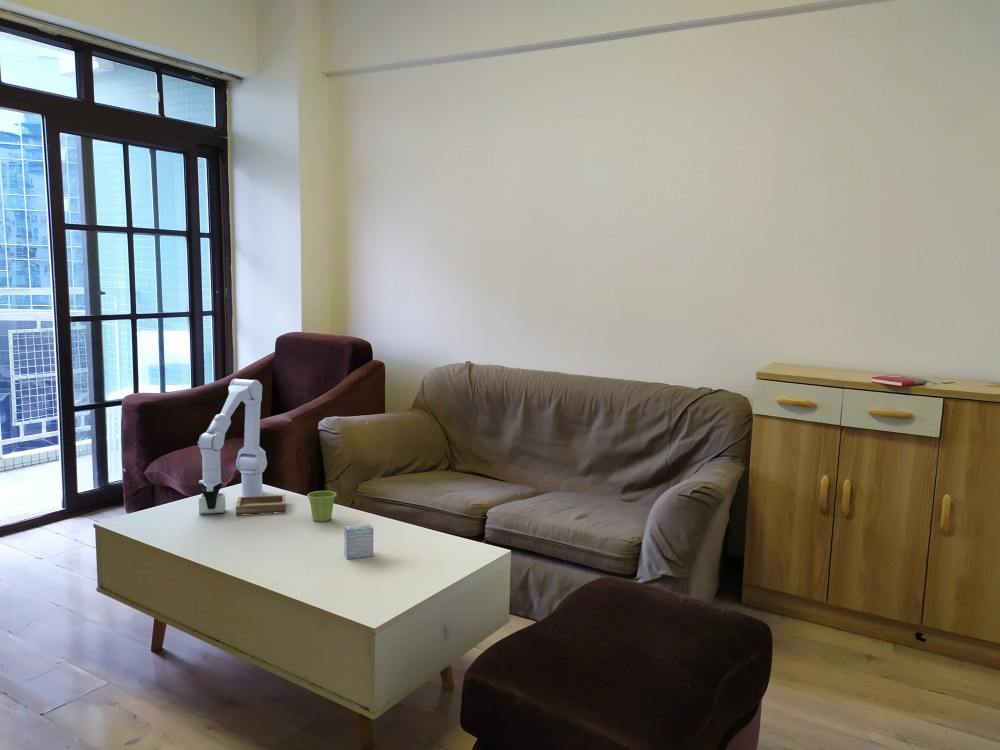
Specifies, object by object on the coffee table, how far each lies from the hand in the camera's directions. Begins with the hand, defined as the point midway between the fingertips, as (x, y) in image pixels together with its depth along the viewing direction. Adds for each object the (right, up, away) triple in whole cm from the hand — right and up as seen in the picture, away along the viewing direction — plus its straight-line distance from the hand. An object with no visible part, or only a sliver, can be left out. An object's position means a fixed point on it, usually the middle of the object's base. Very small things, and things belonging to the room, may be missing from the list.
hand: (212, 506), depth 252 cm
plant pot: (+39, -4, -4) cm, 39 cm away
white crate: (0, -2, 0) cm, 2 cm away
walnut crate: (+15, -2, +6) cm, 16 cm away
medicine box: (+57, -8, -37) cm, 69 cm away
